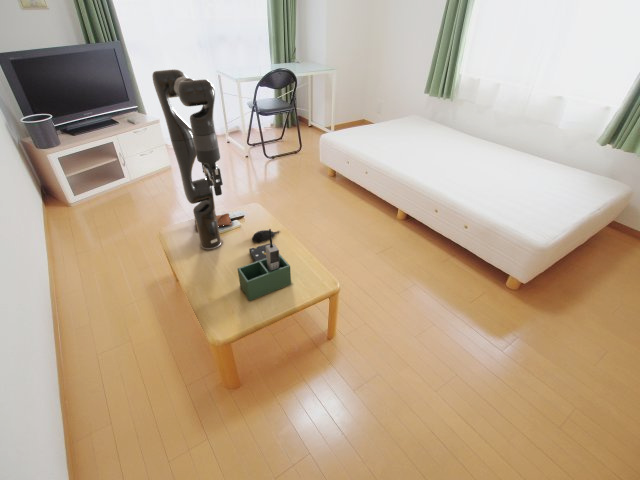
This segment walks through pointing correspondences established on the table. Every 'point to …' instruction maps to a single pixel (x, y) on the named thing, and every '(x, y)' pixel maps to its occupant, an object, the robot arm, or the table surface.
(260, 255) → the disk drive
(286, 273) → the caddy
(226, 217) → the sunglasses case
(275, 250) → the vintage mobile phone
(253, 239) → the gaming mouse
